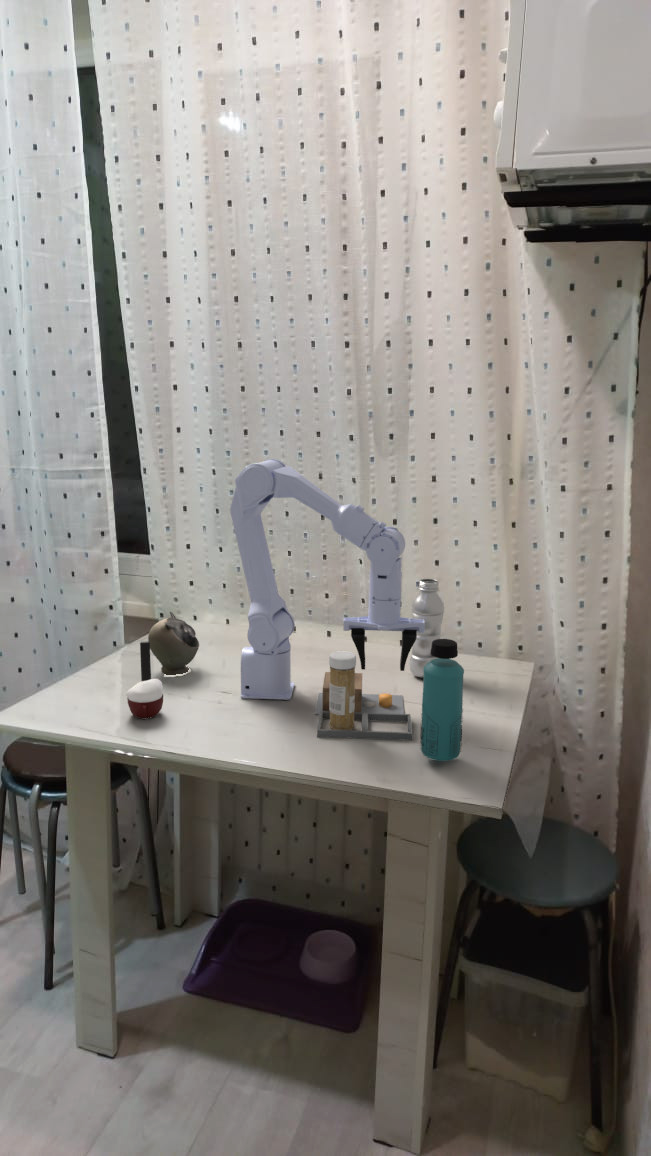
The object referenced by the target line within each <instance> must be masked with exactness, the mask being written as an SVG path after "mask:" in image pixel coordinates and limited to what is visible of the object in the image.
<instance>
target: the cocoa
mask: <svg viewBox="0 0 651 1156" xmlns="http://www.w3.org/2000/svg"><path fill="white" fill-rule="evenodd" d="M139 650H140V653H139V654H140V676H141V678H140V679H141V680H140V682H138V683H136V684H134V686H132V687H131V688H129V689H128V690H127V691H126V693H125V695H126V698H127V699H126V700H127V704H128V708H129V711H130V712H131V715H132V716H133V717H136V718H138V719H141V718H148V719H151V718H150V717H152V718H154V717H156V716H157V715H159V713H160V712H161V711H162V709H163V704H164V694H163V691H164V688H163V682H162V681H161V680H159V678H152V672H151V671H152V670H151V667H152V666H151V649H150V642H149V641H148V640H145V641H141V642H140V643H139Z"/></svg>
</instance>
